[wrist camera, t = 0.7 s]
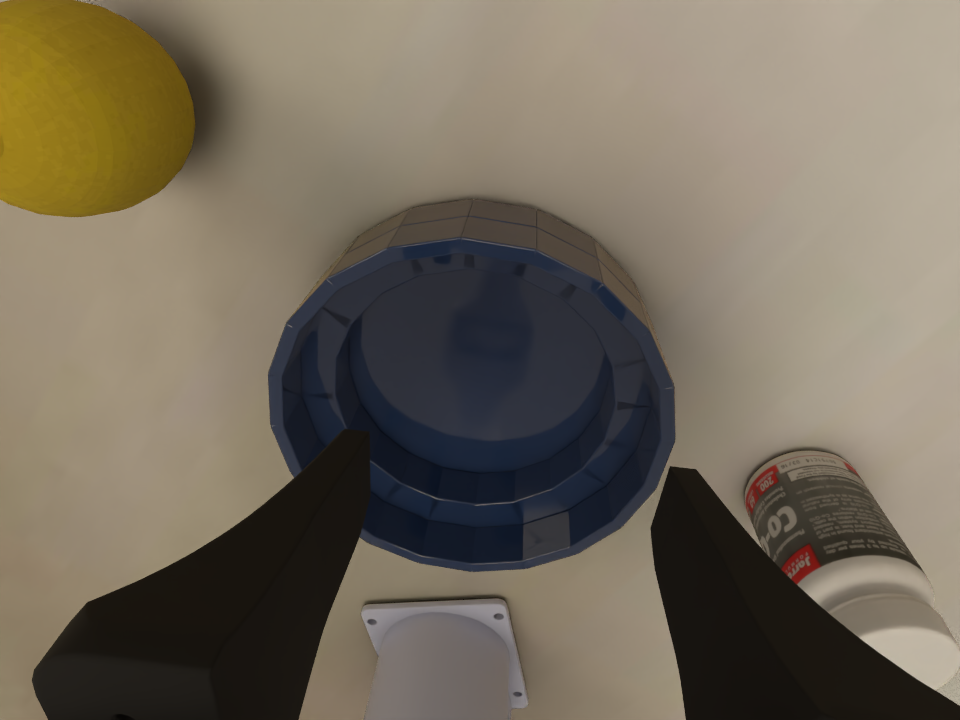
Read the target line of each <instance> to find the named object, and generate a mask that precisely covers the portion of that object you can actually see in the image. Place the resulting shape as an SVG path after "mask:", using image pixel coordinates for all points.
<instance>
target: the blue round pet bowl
mask: <svg viewBox="0 0 960 720" xmlns="http://www.w3.org/2000/svg"><path fill="white" fill-rule="evenodd" d="M268 386H269V407H270V425H271V428H272V431H273V433H274V435H275V438H276V440H277V442H278V445H279V447H280V449H281V452H282V454H283V457H284V459H285V461H286V464H287V466H288V468H289V471H290V472H291V474H292V475H293V477H294V478H295V477H296V476H297V475H298V474H299V473H300V472H301V471H302V470H303V469H304V468H305V467H306V466H307V465H309V464H310V463H311V462H312V461H313V460H314V459H315V458H316V457H317V456H318V455H319V454H320V453H321V452H322V451H323V450H324V449H325V448H326V446H327V445H328V444H329V443H330V442H331V441H332V440H333V439H334V438H335V437H336V436H337V435H338V434H339V433H340V432H341V431H342V430H344V429H352V430H360V431H369V432H370V488H371V496H370V500H369V504H368V508H367V511H366V515H365V519H364V523H363V527H362V530H361V534H360V536H359V537H360V538H361V539H363V540H364V541H366V542H367V543H369V544H371V545H374V546H376V547H379V548H381V549H384V550H387V551H389V552H392V553H394V554H397V555H399V556H402V557H404V558H407V559H409V560H412V561H414V562H417V563H418V562H419V563H421V564H427V565H433V566H439V567H445V568H451V569H457V570H463V571H470V572H472V571H473V572H480V571H498V570H517V569H528V568H531V567H535V566H538V565H542V564H545V563H549V562H552V561H555V560H559V559H562V558H566V557H569V556H573V555H576V554H578V553H580V552H582V551H583V550H585V549H587V548H588V547H590V546H592V545H593V544H595V543H597V542H598V541H600V540H602V539H603V538H605V537H607V536H608V535H610V534H612V533H613V532H615V531H617V530H618V529H620V528H621V527H622V526H624V525H625V523H626V522H627V521H628V520H629V519H630V518H631V517H632V516H633V514H634V513H635V512H636V511H637V510H638V509H639V508H640V507H641V505H642V504H643V503H644V502H645V501H646V500H647V499H648V498H649V497H650V495H651V494H652V493H653V492H654V491H655V489H656V488H657V486H658V483H659V481H660V478H661V476H662V473H663V471H664V468H665V465H666V463H667V460H668V458H669V455H670V453H671V450H672V448H673V445H674V443H675V387H674V383H673V380H672V377H671V375H670V372H669V369H668V366H667V363H666V361H665V358H664V355H663V353H662V349H661V347H660V344H659V341H658V338H657V335H656V332H655V330H654V327H653V325H652V322H651V320H650V318H649V315H648V313H647V311H646V308H645V306H644V304H643V302H642V299H641V297H640V295H639V292H638V290H637V288H636V285H635V283H634V282H633V281H632V278H631V277H630V276H629V275H628V274H627V273H626V272H625V271H624V270H623V269H622V268H621V267H620V266H619V265H618V264H617V263H616V262H615V261H614V260H613V259H612V258H611V257H610V256H609V254H608V253H607V252H606V251H605V250H604V249H603V248H602V247H601V246H600V245H599V244H598V243H597V242H596V241H595V240H594V239H592V237H590V236H588V235H586V234H584V233H583V232H581V231H579V230H577V229H575V228H573V227H571V226H569V225H567V224H565V223H563V222H561V221H559V220H557V219H555V218H554V217H552V216H550V215H548V214H546V213H544V212H542V211H540V210H535V209H532V208H526V207H520V206H514V205H508V204H502V203H496V202H490V201H484V200H478V199H474V200H473V199H467V200H460V201H453V202H447V203H440V204H434V205H427V206H420V207H414V208H412V209H409V210H407V211H405V212H403V213H401V214H399V215H397V216H395V217H393V218H391V219H389V220H387V221H386V222H384V223H382V224H380V225H378V226H376V227H374V228H372V229H370V230H368V231H366V232H364V233H363V234H361V235H360V236H358V237H357V238H356V239H355V240H354V241H353V242H352V243H351V245H350V246H349V247H348V248H347V249H346V250H345V251H344V252H343V253H342V254H341V256H340V257H339V258H338V259H337V260H336V261H335V262H334V263H333V264H332V265H331V267H330V268H329V269H328V270H327V271H326V272H325V273H324V274H323V276H322V277H321V278H320V280H319V281H318V282H317V283H316V285H315V286H314V287H313V289H312V290H311V291H310V292H309V294H308V295H307V296H306V298H305V299H304V300H303V301H302V303H301V304H300V305H299V307H298V308H297V309H296V310H295V312H294V313H293V314H292V316H291V317H290V318H289V319H288V321H287V323H286V324H285V327H284V330H283V333H282V336H281V338H280V341H279V344H278V347H277V349H276V352H275V355H274V358H273V361H272V363H271V366H270V369H269V372H268Z"/></svg>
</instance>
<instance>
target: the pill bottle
mask: <svg viewBox="0 0 960 720" xmlns="http://www.w3.org/2000/svg"><path fill="white" fill-rule="evenodd" d="M745 506H746V509H747V512H748V515H749V517H750V519H751V522H752V524H753V527H754V529H755V532H756V534H757V536H758V539H759V541H760V544H761V546H762V549H763V551H764V552H765V553H766V554H767V555H768V556H769V557H770V558H771V559H772V560H773V561H774V562H775V563H776V564H777V565H778V566H779V567H780V568H781V570H782V571H783V572H784V573H785V574H786V575H787V576H789V577H790V578H791V579H792V580H793V581H794V582H795V583H796V584H797V585H798V586H799V587H800V588H801V589H802V590H803V591H804V592H806V593H807V594H808V595H809V596H810V597H811V598H812V599H813V600H814V601H815V602H816V603H817V604H819V605H820V606H821V607H822V608H823V609H824V610H826V611H827V612H828V613H829V614H830V615H831V616H833V617H834V618H835V619H836V620H838V621H839V622H840V623H841V624H843V625H844V626H845V627H846V628H848V629H849V630H850V631H851V632H853V633H854V634H855V635H856V636H858V637H859V638H860V639H861V640H863V641H864V642H865V643H867V644H868V645H869V646H871V647H872V648H873V649H875V650H876V651H877V652H879V653H880V654H881V655H883V656H884V657H886V658H887V659H889V660H890V661H891V662H893V663H894V664H896V665H897V666H899V667H900V668H901V669H903V670H904V671H906V672H907V673H909V674H910V675H912V676H913V677H915V678H916V679H918V680H919V681H921V682H922V683H924V684H926V685H927V686H929V687H930V688H932V689H934V690H936V689H938V688H940V687H941V686H943V685H944V684H945V683H947V682H948V681H949V680H950V679H951V678H953V677H954V675H955V674H956V673H957V671H958V670H959V668H960V648H959V646H958V644H957V642H956V641H955V639H954V637H953V636H952V634H951V632H950V631H949V629H948V627H947V626H946V624H945V622H944V620H943V618H942V617H941V616H940V615H939V613H938V612H936V611H935V610H934V592H933V589H932V586H931V584H930V582H929V580H928V578H927V576H926V575H925V573H924V572H923V570H922V569H921V567H920V565H919V564H918V563H917V561H916V560H915V558H914V557H913V555H912V554H911V552H910V551H909V549H908V548H907V546H906V545H905V543H904V542H903V540H902V539H901V537H900V536H899V534H898V533H897V531H896V530H895V529H894V527H893V526H892V524H891V523H890V521H889V520H888V518H887V517H886V515H885V514H884V512H883V511H882V509H881V508H880V506H879V505H878V503H877V502H876V500H875V499H874V497H873V496H872V494H871V493H870V491H869V490H868V488H867V487H866V485H865V484H864V482H863V481H862V479H861V478H860V476H859V475H858V474H857V472H856V471H855V469H854V468H853V467H852V466H851V465H850V464H849V463H848V462H847V461H845V460H844V459H842V458H840V457H838V456H836V455H833V454H830V453H826V452H820V451H797V452H791V453H787V454H784V455H781V456H779V457H777V458H774V459H773V460H771V461H769V462H767V463H766V464H764V465H763V466H762V467H761V468H759V469H758V470H757V471H756V472H755V474H754V475H753V476H752V478H751V479H750V481H749V483H748V485H747V488H746V491H745Z"/></svg>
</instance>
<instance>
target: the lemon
mask: <svg viewBox="0 0 960 720" xmlns="http://www.w3.org/2000/svg"><path fill="white" fill-rule="evenodd" d="M194 131H195V117H194V108H193V101H192V98H191V95H190V92H189V89H188V86H187V83H186V81H185V79H184V78H183V76H182V74H181V72H180V70H179V69H178V67H177V65H176V63H175V62H174V60H173V59H172V58H171V57H170V56H169V54H168V53H167V52H166V51H165V50H164V49H163V47H162V46H161V45H160V44H159V43H158V42H157V41H156V40H155V39H154V38H152V37H151V36H150V35H149V34H147V33H146V32H145V31H144V30H142V29H141V28H140V27H139V26H137V25H136V24H135V23H133V22H131V21H129V20H127V19H125V18H123V17H121V16H119V15H117V14H115V13H113V12H111V11H109V10H107V9H105V8H103V7H100V6H97V5H93V4H89V3H84V2H79V1H75V0H10V1H5V2H1V3H0V200H2V201H4V202H6V203H8V204H10V205H13V206H16V207H19V208H22V209H25V210H28V211H31V212H34V213H38V214H44V215H53V216H64V217H84V216H92V215H98V214H104V213H110V212H115V211H120V210H124V209H127V208H129V207H132V206H134V205H136V204H138V203H140V202H142V201H144V200H146V199H148V198H149V197H151V196H153V195H155V194H157V193H158V192H160V191H161V190H162V189H163V188H164V187H165V186H166V185H167V184H168V183H169V182H170V181H171V180H172V179H173V178H174V177H175V175H176V174H177V173H178V172H179V171H180V170H181V168H182V167H183V165H184V163H185V161H186V159H187V157H188V154H189V152H190V150H191V148H192V144H193V138H194Z"/></svg>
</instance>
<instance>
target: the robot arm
mask: <svg viewBox="0 0 960 720" xmlns="http://www.w3.org/2000/svg"><path fill="white" fill-rule="evenodd" d="M370 496H371V488H370V432H369V431H360V430H352V429H344V430H342V431H341V432H340V433H339V434H338V435H337V436H336V437H335V438H334V439H333V440H332V441H331V442H330V443H329V444H328V445H327V446H326V448H325V449H324V450H323V451H322V452H321V453H320V454H319V455H318V456H317V457H316V458H315V459H314V460H313V461H312V462H311V463H310V464H309V465H307V466H306V467H305V468H304V469H303V470H302V471H301V472H300V473H299V474H298V475H297V476H296V477H295V478H294V479H293V480H292V481H290V482H289V483H288V484H287V485H286V486H285V487H284V488H282V489H281V490H280V491H279V492H278V493H276V494H275V495H274V496H273V497H272V498H271V499H269V500H268V501H267V502H266V503H265V504H263V505H262V506H261V507H260V508H258V509H257V510H256V511H254V512H253V513H252V514H251V515H249V516H248V517H247V518H245V519H244V520H242V521H241V522H240V523H238V524H237V525H235V526H234V527H233V528H231V529H230V530H228V531H227V532H225V533H224V534H222V535H221V536H219V537H218V538H216V539H214V540H213V541H211V542H209V543H208V544H206V545H204V546H203V547H201V548H200V549H198V550H196V551H195V552H193V553H191V554H190V555H188V556H186V557H184V558H182V559H180V560H179V561H177V562H175V563H173V564H171V565H169V566H167V567H165V568H163V569H161V570H159V571H157V572H155V573H153V574H151V575H149V576H147V577H145V578H143V579H141V580H139V581H137V582H134V583H132V584H130V585H127V586H125V587H123V588H120V589H118V590H116V591H113V592H111V593H109V594H106V595H104V596H102V597H99V598H97V599H94V600H92V601H89V602H87V603H86V604H85V605H84V607H83V608H82V609H81V610H80V611H79V612H78V613H77V615H76V616H75V617H74V618H73V619H72V620H71V621H70V623H69V624H68V625H67V627H66V628H65V629H64V631H63V632H62V633H61V635H60V636H59V637H58V639H57V640H56V641H55V643H54V644H53V645H52V647H51V648H50V649H49V651H48V652H47V653H46V655H45V656H44V657H43V659H42V660H41V661H40V663H39V664H38V665H37V667H36V668H35V669H34V673H33V678H32V683H33V686H34V690H35V693H36V696H37V698H38V700H39V702H40V704H41V706H42V708H43V710H44V712H45V714H46V716H47V718H48V720H298V719H299V715H300V712H301V708H302V704H303V700H304V697H305V693H306V689H307V686H308V682H309V678H310V675H311V671H312V668H313V664H314V660H315V657H316V653H317V650H318V646H319V643H320V639H321V636H322V633H323V630H324V627H325V624H326V621H327V618H328V615H329V613H330V610H331V607H332V605H333V602H334V600H335V597H336V595H337V592H338V590H339V587H340V585H341V582H342V580H343V577H344V575H345V572H346V570H347V567H348V565H349V562H350V560H351V557H352V554H353V552H354V549H355V547H356V544H357V542H358V539H359V536H360V534H361V530H362V527H363V523H364V519H365V515H366V511H367V508H368V504H369V500H370ZM651 538H652V549H653V557H654V566H655V571H656V576H657V580H658V584H659V589H660V593H661V597H662V601H663V605H664V609H665V614H666V618H667V622H668V626H669V630H670V634H671V638H672V642H673V646H674V650H675V654H676V659H677V664H678V669H679V674H680V680H681V687H682V694H683V701H684V709H685V716H686V720H960V706H959V705H957V704H956V703H954V702H953V701H951V700H949V699H948V698H946V697H945V696H943V695H941V694H940V693H938V692H937V691H935V690H934V689H932V688H930V687H929V686H927V685H926V684H924V683H922V682H921V681H919V680H918V679H916V678H915V677H913V676H912V675H910V674H909V673H907V672H906V671H904V670H903V669H901V668H900V667H899V666H897V665H896V664H894V663H893V662H891V661H890V660H889V659H887V658H886V657H884V656H883V655H881V654H880V653H879V652H877V651H876V650H875V649H873V648H872V647H871V646H869V645H868V644H867V643H865V642H864V641H863V640H861V639H860V638H859V637H858V636H856V635H855V634H854V633H853V632H851V631H850V630H849V629H848V628H846V627H845V626H844V625H843V624H841V623H840V622H839V621H838V620H836V619H835V618H834V617H833V616H831V615H830V614H829V613H828V612H827V611H826V610H824V609H823V608H822V607H821V606H820V605H819V604H817V603H816V602H815V601H814V600H813V599H812V598H811V597H810V596H809V595H808V594H807V593H806V592H804V591H803V590H802V589H801V588H800V587H799V586H798V585H797V584H796V583H795V582H794V581H793V580H792V579H791V578H790V577H789V576H787V575H786V574H785V573H784V572H783V571H782V570H781V568H780V567H779V566H778V565H777V564H776V563H775V562H774V561H773V560H772V559H771V558H770V557H769V556H768V555H767V554H766V553H765V552H764V551H763V550H762V548H761V547H760V546H759V545H758V544H757V543H756V542H755V541H754V539H753V538H752V537H751V536H750V535H749V534H748V533H747V531H746V530H745V529H744V528H743V527H742V526H741V524H740V523H739V522H738V521H737V520H736V518H735V517H734V516H733V515H732V514H731V512H730V511H729V510H728V509H727V507H726V506H725V505H724V504H723V502H722V501H721V500H720V499H719V498H718V496H717V495H716V494H715V492H714V491H713V490H712V489H711V487H710V486H709V485H708V484H707V482H706V481H705V480H704V479H703V477H702V476H701V475H700V474H699V472H698V471H697V470H696V469H688V468H680V467H671V466H670V468H669V471H668V475H667V478H666V481H665V484H664V487H663V491H662V494H661V497H660V500H659V503H658V506H657V510H656V513H655V516H654V519H653V522H652V525H651ZM361 617H362V619H363V621H364V624H365V626H366V629H367V631H368V634H369V636H370V638H371V641H372V643H373V646H374V648H375V650H376V653H377V655H378V661H377V665H376V670H375V674H374V678H373V682H372V686H371V690H370V694H369V699H368V703H367V707H366V711H365V715H364V719H363V720H511V709H517V708H525V707H527V706H528V695H527V690H526V686H525V681H524V677H523V673H522V668H521V664H520V660H519V655H518V651H517V646H516V642H515V638H514V633H513V629H512V625H511V620H510V616H509V611H508V607H507V604H506V602H505V601H504V600H502V599H498V598H493V599H472V600H450V601H428V602H407V603H385V604H368V605H365V606H363V608H362V611H361Z"/></svg>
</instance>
